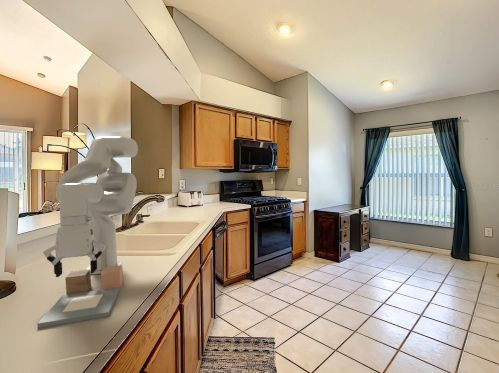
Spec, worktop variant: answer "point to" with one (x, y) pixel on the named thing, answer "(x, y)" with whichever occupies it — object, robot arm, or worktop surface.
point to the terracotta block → (112, 277)
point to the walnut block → (78, 282)
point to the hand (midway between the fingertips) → (76, 273)
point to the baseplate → (80, 307)
